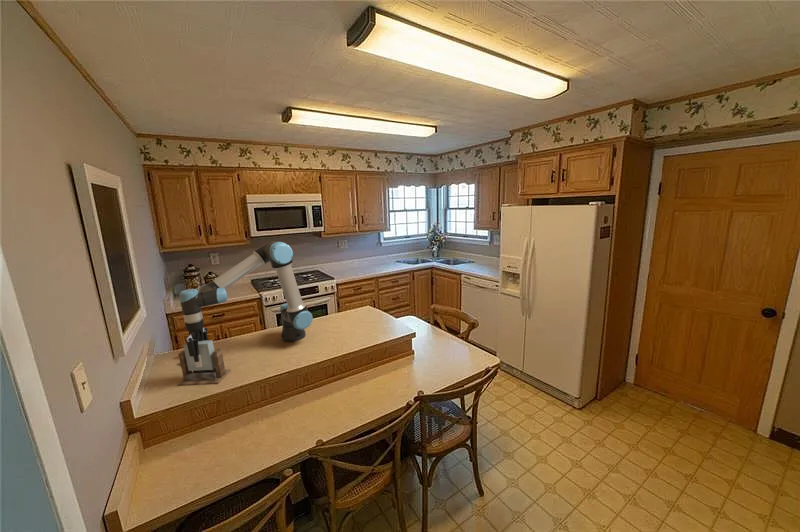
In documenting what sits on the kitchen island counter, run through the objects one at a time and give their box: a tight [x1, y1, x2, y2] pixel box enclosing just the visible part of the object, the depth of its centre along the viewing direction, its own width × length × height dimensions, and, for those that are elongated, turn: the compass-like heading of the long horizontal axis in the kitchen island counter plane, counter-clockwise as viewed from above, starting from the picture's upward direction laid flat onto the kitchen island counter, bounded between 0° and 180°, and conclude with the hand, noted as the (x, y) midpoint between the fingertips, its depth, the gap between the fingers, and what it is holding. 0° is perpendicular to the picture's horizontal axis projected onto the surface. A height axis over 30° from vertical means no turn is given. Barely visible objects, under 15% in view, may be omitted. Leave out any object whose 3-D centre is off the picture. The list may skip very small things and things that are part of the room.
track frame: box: [177, 348, 232, 387], centre depth 155 cm, size 20×12×15 cm, turn 90°
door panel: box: [183, 339, 215, 372], centre depth 154 cm, size 12×4×14 cm, turn 90°
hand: (202, 364), depth 155 cm, fingers closed on door panel, 4 cm apart
